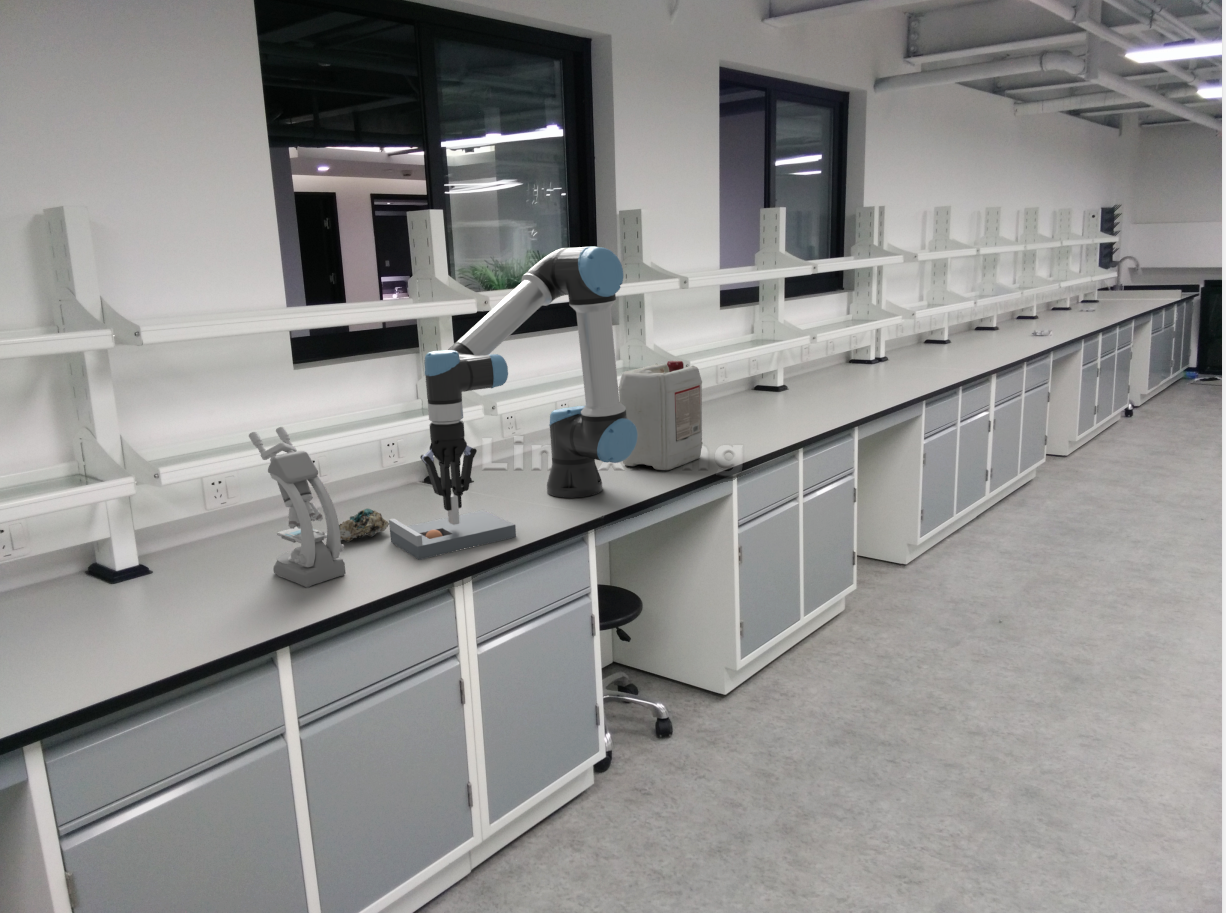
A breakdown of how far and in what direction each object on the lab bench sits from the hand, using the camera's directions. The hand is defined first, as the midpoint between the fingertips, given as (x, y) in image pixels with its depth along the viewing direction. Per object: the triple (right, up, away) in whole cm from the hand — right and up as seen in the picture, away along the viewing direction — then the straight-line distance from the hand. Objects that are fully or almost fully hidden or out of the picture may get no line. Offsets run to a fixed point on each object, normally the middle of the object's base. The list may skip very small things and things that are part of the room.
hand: (454, 522), depth 205 cm
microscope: (-28, -10, -16) cm, 34 cm away
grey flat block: (-1, -4, +3) cm, 5 cm away
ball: (-4, -3, -2) cm, 6 cm away
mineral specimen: (-23, -4, +7) cm, 24 cm away
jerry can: (+51, +13, +70) cm, 88 cm away
